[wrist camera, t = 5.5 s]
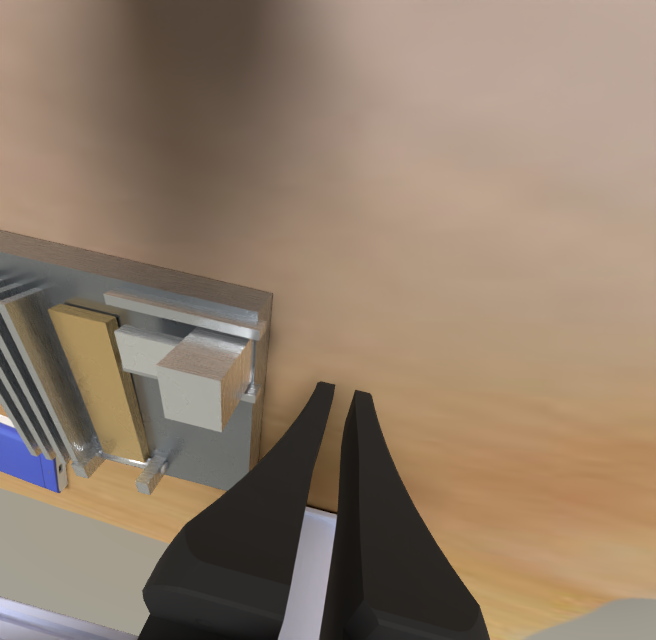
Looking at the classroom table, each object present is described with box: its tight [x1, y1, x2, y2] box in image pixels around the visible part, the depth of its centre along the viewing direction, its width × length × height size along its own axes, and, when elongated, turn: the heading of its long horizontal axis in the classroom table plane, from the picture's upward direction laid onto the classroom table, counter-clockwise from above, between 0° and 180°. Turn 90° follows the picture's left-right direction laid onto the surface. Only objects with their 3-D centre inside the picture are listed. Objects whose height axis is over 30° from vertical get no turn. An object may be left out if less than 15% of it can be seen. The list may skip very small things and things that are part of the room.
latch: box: [114, 324, 254, 432], centre depth 12 cm, size 3×5×3 cm, turn 80°
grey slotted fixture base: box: [0, 230, 273, 495], centre depth 16 cm, size 15×15×4 cm
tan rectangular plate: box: [48, 304, 151, 463], centre depth 16 cm, size 11×3×1 cm, turn 170°
